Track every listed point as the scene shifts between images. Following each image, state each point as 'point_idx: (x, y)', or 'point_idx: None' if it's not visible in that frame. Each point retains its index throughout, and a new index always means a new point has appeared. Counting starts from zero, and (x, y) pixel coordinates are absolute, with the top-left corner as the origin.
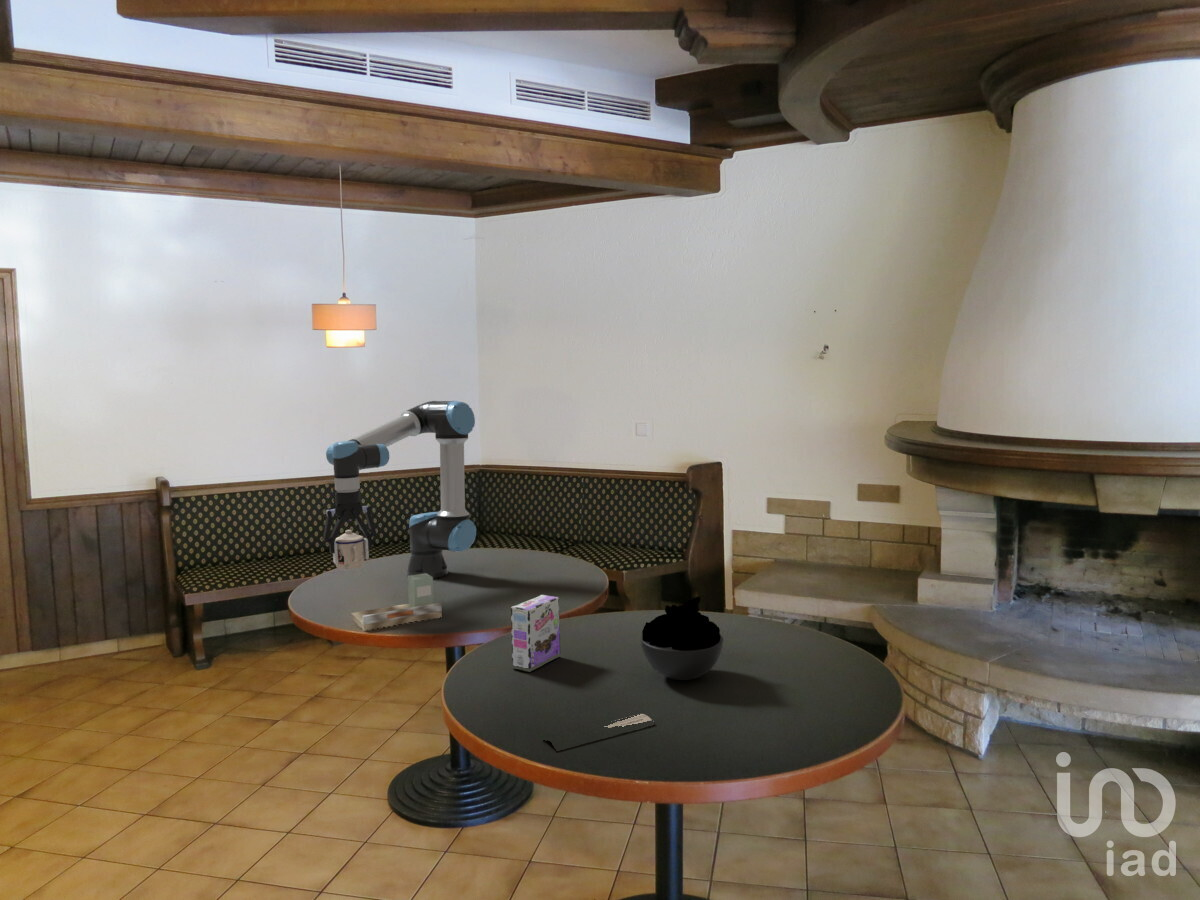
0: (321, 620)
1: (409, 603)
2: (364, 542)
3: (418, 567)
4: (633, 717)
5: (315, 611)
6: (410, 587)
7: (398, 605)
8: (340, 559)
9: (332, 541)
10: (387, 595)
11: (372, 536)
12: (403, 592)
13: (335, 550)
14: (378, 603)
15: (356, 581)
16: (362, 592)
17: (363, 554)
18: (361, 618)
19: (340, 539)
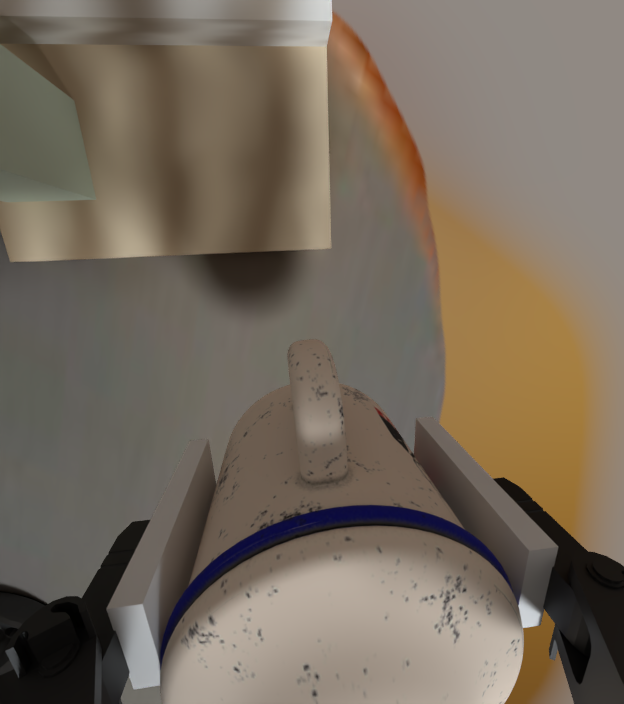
0: (414, 296)
1: (82, 184)
2: (171, 593)
3: (3, 653)
4: None
5: (401, 406)
6: (6, 123)
7: (138, 252)
8: (405, 443)
9: (613, 571)
10: (160, 474)
11: (8, 675)
12: (102, 484)
13: (492, 483)
14: (204, 398)
15: None
16: None
17: (220, 477)
18: (313, 140)
19: (494, 626)
